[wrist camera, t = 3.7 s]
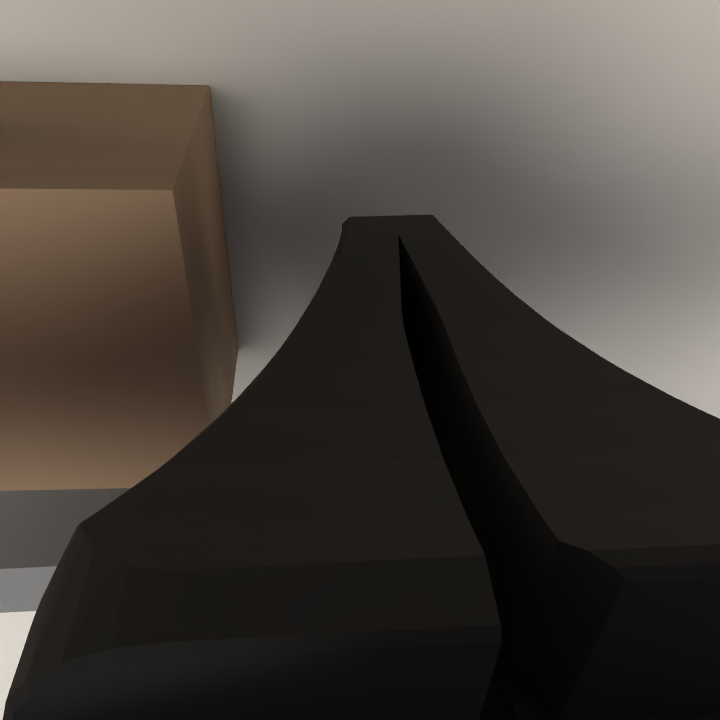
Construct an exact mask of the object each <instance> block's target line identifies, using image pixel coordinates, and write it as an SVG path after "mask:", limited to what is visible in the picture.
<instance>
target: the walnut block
mask: <svg viewBox="0 0 720 720" xmlns="http://www.w3.org/2000/svg"><path fill="white" fill-rule="evenodd" d="M237 355H238V345H237V336H236V326H235V317H234V308H233V299H232V289H231V280H230V271H229V262H228V253H227V243H226V234H225V225H224V216H223V206H222V197H221V188H220V179H219V170H218V160H217V151H216V142H215V133H214V123H213V114H212V105H211V96H210V87H209V85H162V84H113V83H63V82H14V81H0V491H12V490H62V489H113V488H132V487H133V486H135V485H136V484H138V483H139V482H140V481H142V480H143V479H145V478H146V477H147V476H149V475H150V474H152V473H153V472H155V471H156V470H157V469H159V468H160V467H161V466H162V465H164V464H165V463H166V462H167V461H169V460H170V459H171V458H172V457H173V456H175V455H176V454H177V453H178V452H179V451H180V450H181V449H183V448H184V447H185V446H186V445H187V444H188V443H189V442H190V441H192V440H193V439H194V438H195V437H196V436H197V435H198V434H200V433H201V432H202V431H203V430H204V429H205V428H206V427H208V426H209V425H210V424H211V423H212V422H213V421H214V420H215V419H217V418H218V417H219V416H220V415H221V414H222V413H223V412H224V411H225V410H226V409H227V408H228V407H229V406H230V405H231V400H232V392H233V385H234V377H235V370H236V362H237Z"/></svg>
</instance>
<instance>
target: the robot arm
mask: <svg viewBox="0 0 720 720" xmlns="http://www.w3.org/2000/svg"><path fill="white" fill-rule="evenodd" d="M3 720H720V419H719V418H717V417H715V416H712V415H710V414H708V413H706V412H704V411H701V410H699V409H697V408H695V407H693V406H691V405H689V404H687V403H685V402H683V401H681V400H679V399H677V398H674V397H672V396H670V395H669V394H667V393H665V392H663V391H661V390H659V389H657V388H656V387H654V386H652V385H650V384H648V383H646V382H644V381H643V380H641V379H639V378H637V377H635V376H633V375H631V374H630V373H628V372H626V371H624V370H622V369H621V368H619V367H617V366H616V365H614V364H612V363H610V362H609V361H607V360H605V359H604V358H602V357H600V356H599V355H597V354H596V353H594V352H593V351H591V350H590V349H588V348H587V347H585V346H584V345H582V344H581V343H579V342H578V341H576V340H574V339H573V338H571V337H570V336H568V335H567V334H565V333H564V332H562V331H561V330H560V329H558V328H557V327H555V326H554V325H553V324H551V323H550V322H548V321H547V320H546V319H544V318H543V317H542V316H541V315H539V314H538V313H537V312H536V311H534V310H533V309H532V308H531V307H529V306H528V305H527V304H526V303H524V302H523V301H522V300H521V299H519V298H518V297H517V296H516V295H514V294H513V293H512V292H511V291H510V290H509V289H508V288H506V287H505V286H504V285H503V284H502V283H501V282H500V281H498V280H497V279H496V278H495V277H494V276H493V275H492V274H491V273H490V272H489V271H488V270H486V269H485V268H484V267H483V266H482V265H481V264H480V263H479V262H478V261H477V260H476V259H475V258H474V257H473V256H472V255H471V254H470V253H469V252H468V251H467V250H466V249H465V248H464V247H463V246H462V245H461V244H460V243H459V242H458V241H457V240H456V239H455V238H454V237H453V236H452V235H451V234H450V233H449V232H448V231H447V230H446V228H445V227H444V226H443V225H442V224H441V223H440V222H439V221H438V220H437V219H436V218H435V217H434V216H433V215H405V216H367V217H349V218H348V219H347V220H346V221H345V222H344V223H343V224H342V233H341V237H340V241H339V244H338V247H337V250H336V252H335V255H334V257H333V260H332V262H331V264H330V266H329V268H328V270H327V272H326V275H325V277H324V279H323V281H322V283H321V285H320V287H319V289H318V291H317V292H316V294H315V296H314V298H313V299H312V301H311V303H310V304H309V306H308V307H307V309H306V311H305V312H304V314H303V316H302V317H301V319H300V321H299V322H298V324H297V325H296V327H295V328H294V330H293V331H292V333H291V334H290V335H289V337H288V338H287V340H286V341H285V342H284V344H283V345H282V346H281V348H280V349H279V350H278V352H277V353H276V354H275V355H274V357H273V358H272V359H271V360H270V362H269V363H268V364H267V365H266V367H265V368H264V369H263V370H262V371H261V372H260V374H259V375H258V376H257V377H256V378H255V379H254V380H253V381H252V382H251V384H250V385H249V386H248V387H247V388H246V389H245V390H244V391H243V392H242V393H241V395H240V396H239V397H238V398H237V399H236V400H235V401H234V402H233V403H232V404H231V405H230V406H229V407H228V408H227V409H226V410H225V411H224V412H223V413H222V414H221V415H220V416H219V417H218V418H217V419H215V420H214V421H213V422H212V423H211V424H210V425H209V426H208V427H206V428H205V429H204V430H203V431H202V432H201V433H200V434H198V435H197V436H196V437H195V438H194V439H193V440H192V441H190V442H189V443H188V444H187V445H186V446H185V447H184V448H183V449H181V450H180V451H179V452H178V453H177V454H176V455H175V456H173V457H172V458H171V459H170V460H169V461H167V462H166V463H165V464H164V465H162V466H161V467H160V468H159V469H157V470H156V471H155V472H153V473H152V474H150V475H149V476H147V477H146V478H145V479H143V480H142V481H140V482H139V483H138V484H136V485H135V486H133V487H132V488H130V489H129V490H128V491H126V492H125V493H123V494H122V495H121V496H119V497H118V498H116V499H115V500H114V501H112V502H111V503H109V504H108V505H106V506H105V507H104V508H102V509H101V510H99V511H98V512H96V513H95V514H93V515H92V516H90V517H89V518H87V519H86V520H84V521H83V522H81V523H80V524H79V525H78V526H77V527H76V529H75V531H74V533H73V535H72V537H71V539H70V541H69V543H68V545H67V547H66V549H65V551H64V553H63V555H62V557H61V559H60V561H59V563H58V565H57V567H56V569H55V572H54V574H53V576H52V578H51V580H50V582H49V584H48V586H47V588H46V590H45V592H44V594H43V596H42V599H41V601H40V603H39V606H38V608H37V611H36V614H35V617H34V619H33V622H32V625H31V628H30V631H29V634H28V637H27V640H26V643H25V646H24V649H23V652H22V655H21V658H20V661H19V664H18V667H17V670H16V673H15V676H14V679H13V682H12V685H11V688H10V691H9V694H8V697H7V700H6V704H5V710H4V716H3Z"/></svg>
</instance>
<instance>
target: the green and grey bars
mask: <svg viewBox="0 0 720 720" xmlns="http://www.w3.org/2000/svg"><path fill="white" fill-rule="evenodd" d="M129 489H130V488H113V489H62V490H12V491H0V613H3V612H22V611H37V608H38V606H39V603H40V601H41V599H42V596H43V594H44V592H45V590H46V588H47V586H48V584H49V582H50V580H51V578H52V576H53V574H54V572H55V569H56V567H57V565H58V563H59V561H60V559H61V557H62V555H63V553H64V551H65V549H66V547H67V545H68V543H69V541H70V539H71V537H72V535H73V533H74V531H75V529H76V527H77V526H78V525H79V524H80V523H81V522H83V521H84V520H86V519H87V518H89V517H90V516H92V515H93V514H95V513H96V512H98V511H99V510H101V509H102V508H104V507H105V506H106V505H108V504H109V503H111V502H112V501H114V500H115V499H116V498H118V497H119V496H121V495H122V494H123V493H125V492H126V491H128V490H129Z"/></svg>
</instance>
